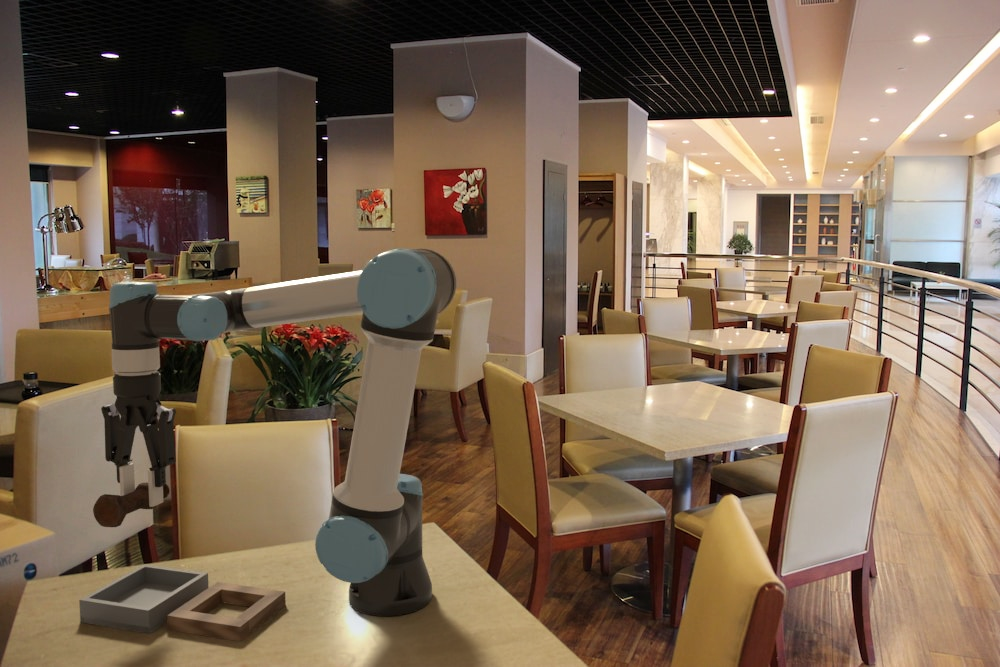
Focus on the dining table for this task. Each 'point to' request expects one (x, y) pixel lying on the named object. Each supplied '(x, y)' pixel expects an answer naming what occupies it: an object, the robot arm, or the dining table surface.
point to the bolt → (122, 505)
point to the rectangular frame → (198, 622)
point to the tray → (142, 598)
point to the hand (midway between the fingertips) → (142, 502)
